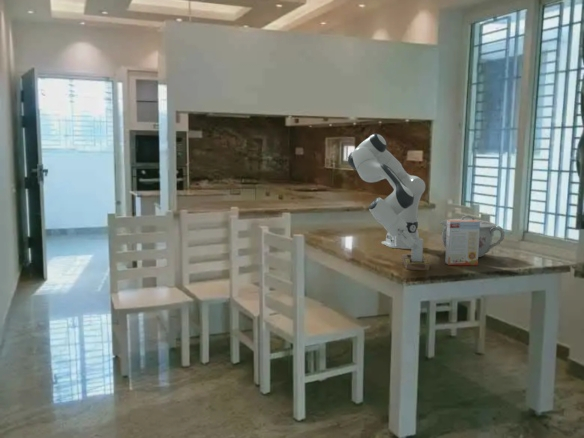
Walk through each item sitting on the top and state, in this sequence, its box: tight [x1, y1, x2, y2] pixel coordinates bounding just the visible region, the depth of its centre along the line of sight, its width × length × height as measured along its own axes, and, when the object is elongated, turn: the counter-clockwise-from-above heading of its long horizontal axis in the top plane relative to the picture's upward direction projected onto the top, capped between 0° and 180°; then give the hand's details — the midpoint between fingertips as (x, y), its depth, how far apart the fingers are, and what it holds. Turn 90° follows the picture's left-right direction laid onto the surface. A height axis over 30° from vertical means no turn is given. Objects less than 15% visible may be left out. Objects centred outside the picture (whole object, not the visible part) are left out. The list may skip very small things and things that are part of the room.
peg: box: [410, 237, 424, 263], centre depth 263 cm, size 4×4×12 cm
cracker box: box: [444, 219, 480, 266], centre depth 270 cm, size 14×6×21 cm, turn 92°
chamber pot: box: [439, 214, 505, 258], centre depth 292 cm, size 28×28×21 cm
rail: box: [401, 253, 431, 271], centre depth 269 cm, size 24×10×3 cm, turn 174°
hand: (418, 250), depth 263 cm, fingers closed on peg, 4 cm apart
